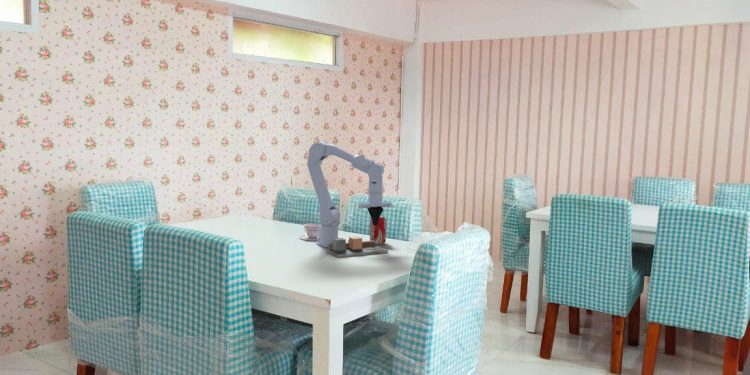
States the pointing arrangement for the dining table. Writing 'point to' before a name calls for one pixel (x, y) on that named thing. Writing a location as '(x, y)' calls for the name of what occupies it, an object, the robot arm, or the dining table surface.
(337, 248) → the fixed leg
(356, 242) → the block
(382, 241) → the soda can
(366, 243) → the rail
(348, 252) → the plate
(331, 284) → the dining table surface
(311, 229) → the teacup
